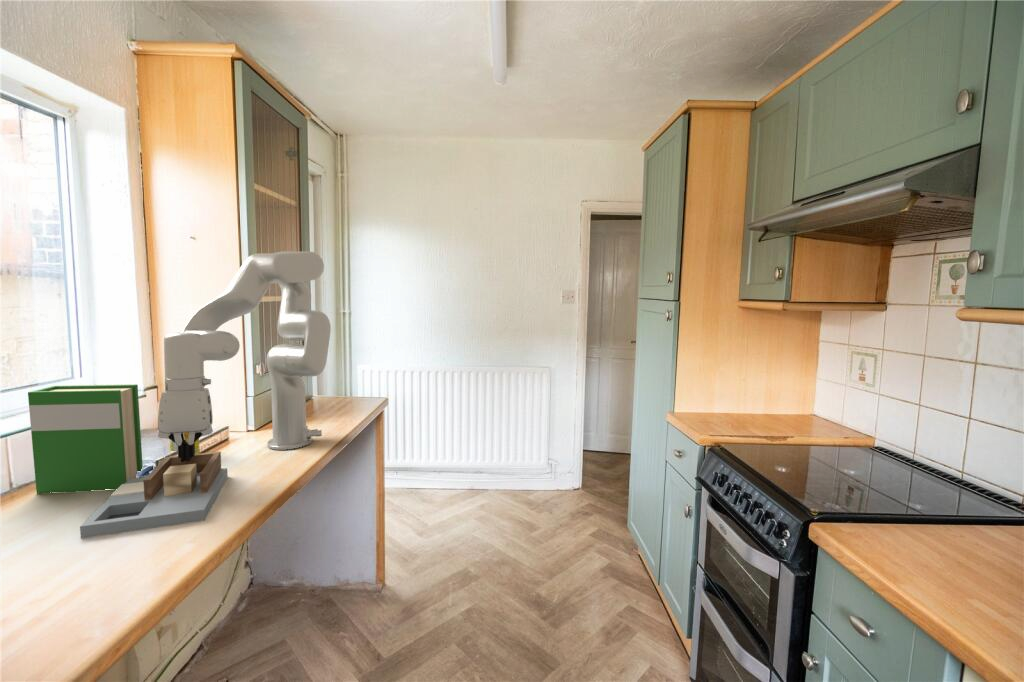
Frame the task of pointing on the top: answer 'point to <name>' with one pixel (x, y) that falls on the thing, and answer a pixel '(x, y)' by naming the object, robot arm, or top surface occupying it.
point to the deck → (150, 508)
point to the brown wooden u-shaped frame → (204, 463)
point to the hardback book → (85, 437)
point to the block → (180, 479)
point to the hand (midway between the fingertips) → (186, 459)
